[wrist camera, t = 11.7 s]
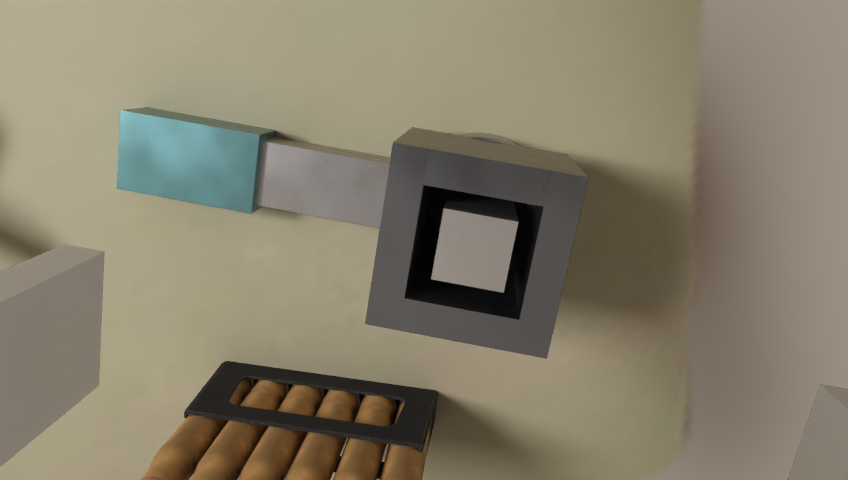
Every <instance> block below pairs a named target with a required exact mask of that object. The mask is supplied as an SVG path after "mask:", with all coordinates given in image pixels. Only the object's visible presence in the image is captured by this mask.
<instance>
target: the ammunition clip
mask: <svg viewBox="0 0 848 480" xmlns="http://www.w3.org/2000/svg"><path fill="white" fill-rule="evenodd" d="M437 396H438V393H437V391H436V390H429V389H421V388H414V387H407V386H400V385H393V384H386V383H379V382H372V381H365V380H358V379H351V378H343V377H336V376H329V375H322V374H315V373H308V372H301V371H294V370H287V369H280V368H272V367H265V366H258V365H251V364H244V363H237V362H230V361H226V362H224V363H222V364H221V365H220V367H219V368H218V369H217V370H216V372H215V373H214V374H213V376H212V377H211V378H210V379H209V381H208V382H207V383H206V385H205V386H204V387H203V388H202V390H201V391H200V392H199V393H198V395H197V396H196V397H195V399H194V400H193V401H192V402H191V404H190V405H189V406H188V408H187V409H186V410H185V412H184V418H186V419H185V421H184V422H183V423H182V424H181V425H180V426H179V428H178V429H177V430H176V431H175V432H174V434H173V435H172V436H171V437H170V438H169V439H168V441H167V442H166V443H165V444H164V445H163V447H162V448H161V449H160V450H159V452H158V453H157V454H156V456H155V457H154V459H153V461H152V463H151V465H150V467H149V469H148V471H147V472H146V473H145V475H144V476H143V477H142V479H141V480H189V479H190V478H191V476H192V475H193V474H194V475H193V478H192V479H191V480H237V479H238V478H239V476H240V478H239V480H284V479H285V477H286V479H285V480H330V479H331V476H332V474H333V472H336V473H335V476H334V479H333V480H376V479H380V480H422V476H423V471H424V465H425V459H426V454H427V450H428V446H429V442H430V438H431V434H432V430H433V426H434V420H435V412H436V404H437ZM188 415H189V416H188ZM346 438H348V440H347V443H346V446H345V449H344V451H343V454H342V457H341V456H340V453H341V451H342V448H343V446H344V443H345V441H346ZM386 443H387V444H389V446H388V450H387V454H386V458H385V462H381V461H382V458H383V454H384V450H385V447H386ZM290 467H291V468H290ZM289 469H290V470H289ZM288 471H289V472H288ZM287 473H288V474H287ZM286 475H287V476H286Z"/></svg>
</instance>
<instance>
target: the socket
mask: <svg viewBox="0 0 848 480" xmlns="http://www.w3.org/2000/svg"><path fill="white" fill-rule="evenodd" d="M588 178H589V177H588V176H587V175H586V174H585V173H584V172H583V171H582V170H581V169H580V168H579V166H578V165H577V164H576V163H575V162H574V161H573V160H572V159H571V158H570V157H569V156H568V155H567V154H561V153H555V152H550V151H544V150H538V149H533V148H527V147H521V146H516V145H510V144H505V143H499V142H493V141H488V140H482V139H476V138H471V137H465V136H459V135H454V134H448V133H442V132H437V131H431V130H425V129H420V128H414V127H412V128H411V129H410V130H408V131H407V132H406V133H405V134H403V135H402V136H401V137H399V138H398V139H397V140H396V141H394V142H393V146H392V153H391V159H390V166H389V172H388V179H387V185H386V192H385V198H384V205H383V211H382V218H381V224H380V231H379V237H378V244H377V250H376V257H375V263H374V270H373V276H372V283H371V289H370V296H369V302H368V309H367V315H366V322H365V324H368V325H373V326H379V327H384V328H389V329H394V330H400V331H405V332H410V333H415V334H421V335H426V336H431V337H436V338H442V339H447V340H452V341H457V342H463V343H468V344H473V345H478V346H484V347H489V348H494V349H499V350H505V351H510V352H515V353H520V354H525V355H531V356H536V357H541V358H546V359H547V356H548V351H549V347H550V343H551V338H552V334H553V330H554V325H555V321H556V317H557V312H558V308H559V304H560V299H561V295H562V291H563V286H564V282H565V278H566V273H567V269H568V265H569V260H570V256H571V252H572V247H573V243H574V239H575V234H576V230H577V226H578V221H579V217H580V213H581V208H582V204H583V200H584V195H585V191H586V187H587V182H588ZM432 187H438V188H443V189H449V190H454V191H460V192H465V193H471V194H476V195H482V196H487V197H493V198H499V199H504V200H510V201H515V202H521V203H526V204H527V205H526V209H525V214H524V219H523V224H522V229H521V233H520V238H519V243H518V248H517V252H516V257H515V262H514V267H513V270H511V269H509V270H508V275H507V279H506V284H505V289H504V293H502V292H497V291H491V290H486V289H481V288H475V287H470V286H465V285H459V284H454V283H449V282H443V281H438V280H433V279H431V277H432V271H433V266H434V260H435V255H430V254H424V253H421V248H422V242H423V236H424V230H425V225H426V219H427V213H428V207H429V201H430V195H431V190H432Z"/></svg>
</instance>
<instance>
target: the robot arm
mask: <svg viewBox="0 0 848 480" xmlns="http://www.w3.org/2000/svg"><path fill="white" fill-rule="evenodd" d="M103 274H104V251H98V250H93V249H88V248H82V247H77V246H71V245H66V244H64V245H62V246H59V247H57V248H55V249H52V250H50V251H48V252H45V253H43V254H40V255H38V256H36V257H33V258H31V259H29V260H26V261H24V262H22V263H19V264H17V265H15V266H12V267H10V268H7V269H5V270H3V271H0V467H1V466H2V465H3V464H5V463H6V462H7V461H8V460H9V459H11V458H12V457H13V456H14V455H15V454H17V453H18V452H19V451H20V450H22V449H23V448H24V447H25V446H26V445H28V444H29V443H30V442H31V441H32V440H34V439H35V438H36V437H37V436H38V435H40V434H41V433H42V432H43V431H44V430H46V429H47V428H48V427H49V426H51V425H52V424H53V423H54V422H55V421H57V420H58V419H59V418H60V417H61V416H63V415H64V414H65V413H66V412H67V411H69V410H70V409H71V408H72V407H73V406H75V405H76V404H77V403H78V402H80V401H81V400H82V399H83V398H84V397H86V396H87V395H88V394H89V393H90V392H92V391H93V390H94V389H95V388H96V387H98V386H99V369H100V345H101V322H102V298H103ZM787 480H848V389H844V388H839V387H833V386H828V385H822V384H820V387H819V390H818V393H817V396H816V398H815V402H814V404H813V407H812V410H811V413H810V416H809V419H808V422H807V424H806V427H805V430H804V433H803V436H802V439H801V442H800V445H799V448H798V450H797V454H796V456H795V459H794V462H793V465H792V468H791V471H790V474H789V477H788V479H787Z"/></svg>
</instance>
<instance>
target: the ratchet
mask: <svg viewBox="0 0 848 480" xmlns="http://www.w3.org/2000/svg"><path fill="white" fill-rule="evenodd" d="M274 136H275V130H270V129H265V128H259V127H253V126H248V125H242V124H237V123H231V122H225V121H220V120H214V119H209V118H203V117H197V116H192V115H186V114H181V113H175V112H169V111H164V110H158V109H153V108H147V107H144V108H135V109H126V110H121V115H120V135H119V154H118V174H117V189H121V190H126V191H132V192H137V193H143V194H148V195H153V196H159V197H164V198H170V199H175V200H181V201H186V202H191V203H197V204H202V205H208V206H213V207H218V208H224V209H229V210H235V211H240V212H246V213H253V212H255V211H256V210H258V209H259V208H261V207H269V208H274V209H279V210H285V211H290V212H296V213H301V214H307V215H312V216H317V217H323V218H328V219H334V220H339V221H345V222H350V223H355V224H361V225H366V226H372V227H377V228H380V224H381V218H382V211H383V205H384V198H385V192H386V185H387V179H388V172H389V166H390V159H391V158H389V157H383V156H378V155H372V154H366V153H361V152H355V151H350V150H344V149H338V148H333V147H327V146H322V145H316V144H311V143H305V142H299V141H294V140H288V139H283V138H277V137H274ZM459 136H465V137H471V138H476V139H482V140H488V141H493V142H499V143H505V144H510V145H516V146H519V145H517V144H516V143H514V142H512V141H510V140H508V139H506V138H503V137H501V136H497V135H493V134H486V133H470V134H463V135H459ZM526 205H527V204H526V203H521V202H515V201H510V200H504V199H499V198H493V197H487V196H482V195H476V194H471V193H465V192H460V191H454V190H449V189H443V188H438V187H432V190H431V195H430V201H429V207H428V213H427V219H426V225H425V230H424V236H423V242H422V248H421V253H424V254H430V255H435V260H434V266H433V271H432V277H431V279H433V280H438V281H443V282H449V283H454V284H459V285H465V286H470V287H475V288H481V289H486V290H491V291H497V292H502V293H504V289H505V284H506V279H507V275H508V270H509V269H511V270H513V267H514V262H515V257H516V252H517V248H518V243H519V238H520V233H521V229H522V224H523V219H524V214H525V209H526Z"/></svg>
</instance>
